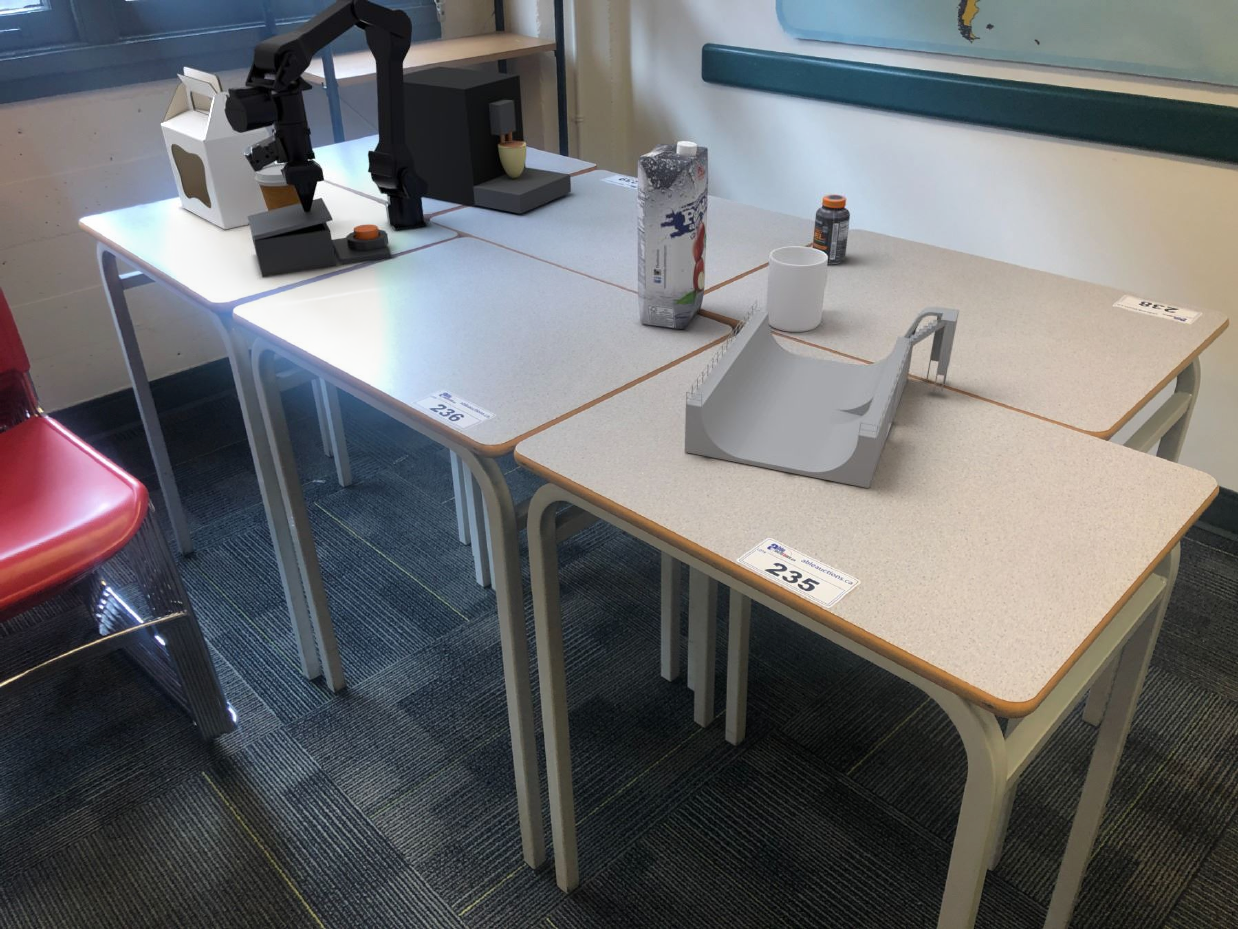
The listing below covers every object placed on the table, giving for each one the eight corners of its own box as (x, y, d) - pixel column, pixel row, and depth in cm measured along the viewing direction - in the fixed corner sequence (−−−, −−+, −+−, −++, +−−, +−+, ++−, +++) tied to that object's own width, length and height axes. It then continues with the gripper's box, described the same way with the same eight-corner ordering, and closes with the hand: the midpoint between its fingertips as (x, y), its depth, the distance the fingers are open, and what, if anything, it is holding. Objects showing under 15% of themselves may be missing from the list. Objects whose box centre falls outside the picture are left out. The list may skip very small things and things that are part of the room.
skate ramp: (752, 353, 139) (757, 283, 133) (945, 383, 129) (959, 309, 124) (684, 452, 115) (686, 372, 109) (914, 498, 106) (929, 413, 100)
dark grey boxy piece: (326, 246, 182) (320, 211, 178) (336, 266, 172) (330, 230, 169) (256, 255, 178) (248, 220, 174) (262, 277, 168) (254, 240, 165)
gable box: (181, 207, 205) (145, 68, 190) (240, 194, 212) (209, 60, 198) (225, 230, 191) (189, 82, 176) (286, 215, 199) (257, 72, 184)
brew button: (376, 232, 180) (375, 223, 179) (381, 238, 177) (379, 229, 176) (353, 235, 179) (351, 226, 178) (357, 242, 175) (355, 233, 175)
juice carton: (632, 326, 147) (631, 147, 133) (655, 301, 156) (656, 131, 142) (687, 334, 145) (692, 152, 130) (707, 308, 153) (714, 135, 139)
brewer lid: (322, 201, 178) (321, 197, 177) (332, 220, 168) (331, 215, 168) (248, 220, 174) (247, 216, 174) (254, 240, 165) (252, 235, 164)
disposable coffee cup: (308, 237, 187) (296, 175, 180) (260, 237, 187) (246, 175, 181) (321, 222, 195) (311, 162, 188) (275, 222, 195) (263, 162, 189)
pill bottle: (805, 256, 173) (811, 193, 167) (834, 252, 175) (841, 190, 169) (821, 266, 168) (827, 203, 162) (851, 262, 170) (858, 199, 164)
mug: (845, 316, 149) (853, 250, 144) (796, 338, 143) (803, 269, 137) (802, 301, 155) (808, 237, 149) (753, 321, 148) (757, 255, 143)
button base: (382, 238, 185) (380, 223, 184) (394, 257, 176) (392, 242, 174) (332, 245, 182) (329, 230, 181) (341, 265, 173) (339, 249, 171)
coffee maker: (520, 216, 196) (512, 95, 183) (397, 191, 212) (381, 79, 200) (571, 194, 209) (566, 79, 196) (450, 173, 225) (439, 66, 213)
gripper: (236, 115, 168) (256, 203, 176) (245, 137, 153) (265, 232, 162) (301, 109, 172) (317, 195, 180) (315, 130, 157) (332, 223, 165)
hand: (307, 211), depth 172 cm, fingers closed, pressing on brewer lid
